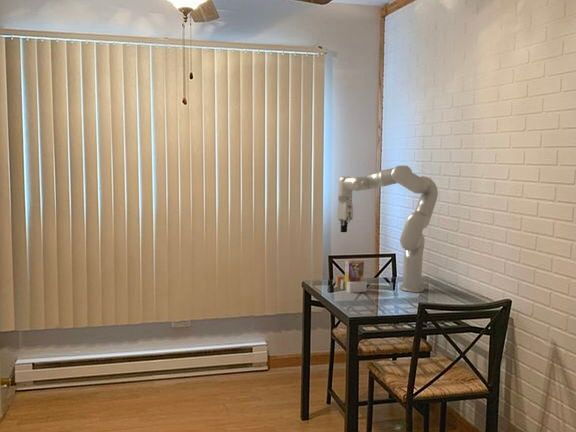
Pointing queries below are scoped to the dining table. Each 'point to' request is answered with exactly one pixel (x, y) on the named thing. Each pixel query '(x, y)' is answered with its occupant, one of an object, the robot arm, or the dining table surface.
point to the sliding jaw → (340, 281)
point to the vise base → (356, 286)
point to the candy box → (353, 271)
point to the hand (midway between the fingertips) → (343, 232)
